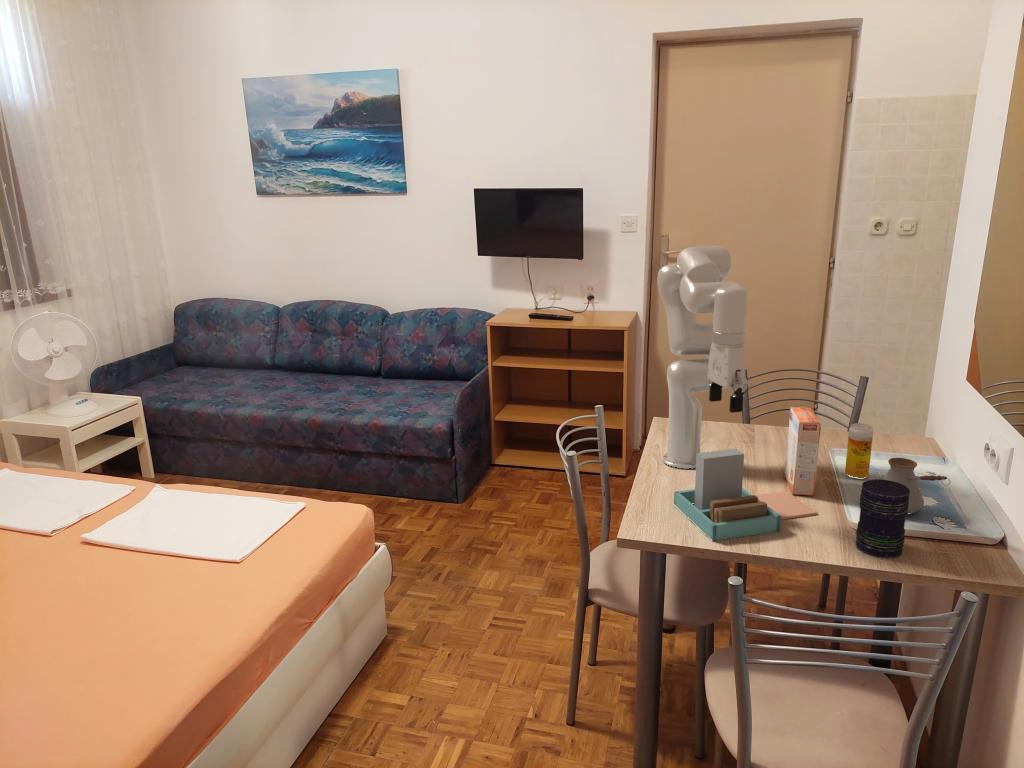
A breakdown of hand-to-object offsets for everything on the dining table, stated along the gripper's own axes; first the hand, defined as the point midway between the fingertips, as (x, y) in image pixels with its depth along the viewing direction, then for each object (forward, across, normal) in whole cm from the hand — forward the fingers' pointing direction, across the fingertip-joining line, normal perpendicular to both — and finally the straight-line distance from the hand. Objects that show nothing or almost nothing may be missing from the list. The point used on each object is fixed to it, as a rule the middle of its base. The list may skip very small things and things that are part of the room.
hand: (725, 406), depth 181 cm
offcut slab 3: (+29, +12, -1) cm, 31 cm away
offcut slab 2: (+29, +10, -1) cm, 30 cm away
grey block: (+28, 0, -1) cm, 29 cm away
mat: (+28, +2, +16) cm, 33 cm away
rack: (+28, +4, -1) cm, 29 cm away
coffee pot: (+29, +17, +43) cm, 54 cm away
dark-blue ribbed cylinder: (+29, +28, +24) cm, 47 cm away
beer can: (+29, -9, +48) cm, 56 cm away
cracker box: (+29, -8, +29) cm, 41 cm away
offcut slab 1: (+29, +8, -1) cm, 30 cm away
